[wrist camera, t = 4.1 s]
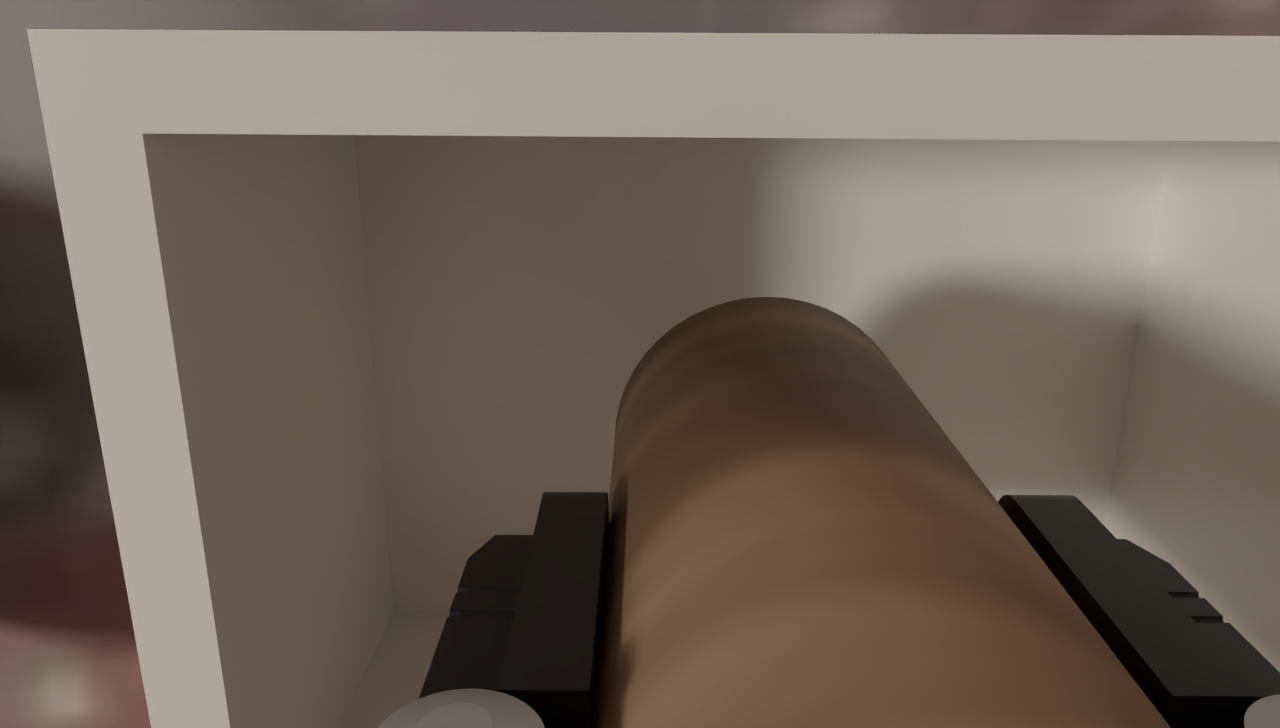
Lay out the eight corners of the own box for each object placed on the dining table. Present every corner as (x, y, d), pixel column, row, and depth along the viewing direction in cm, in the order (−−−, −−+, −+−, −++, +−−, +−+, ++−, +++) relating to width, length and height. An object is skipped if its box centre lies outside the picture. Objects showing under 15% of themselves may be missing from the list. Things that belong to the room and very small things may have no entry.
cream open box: (308, 42, 17) (26, 29, 10) (1213, 47, 17) (1670, 37, 9) (363, 626, 21) (191, 956, 13) (1108, 638, 21) (1374, 981, 13)
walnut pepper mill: (613, 296, 14) (507, 1079, 3) (921, 296, 14) (1783, 1088, 3) (615, 567, 15) (542, 1722, 5) (895, 568, 15) (1446, 1732, 5)
